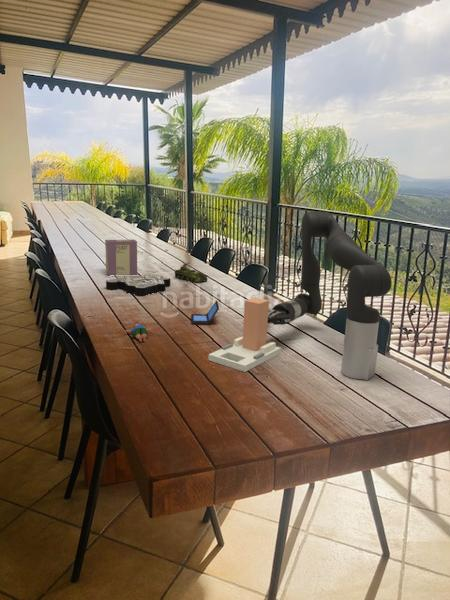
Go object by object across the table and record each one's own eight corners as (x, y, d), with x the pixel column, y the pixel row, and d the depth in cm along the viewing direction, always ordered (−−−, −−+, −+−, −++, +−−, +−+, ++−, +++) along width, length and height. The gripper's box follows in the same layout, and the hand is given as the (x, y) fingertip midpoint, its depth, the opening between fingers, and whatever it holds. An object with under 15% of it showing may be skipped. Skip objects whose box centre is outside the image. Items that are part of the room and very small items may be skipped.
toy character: (124, 332, 156) (119, 319, 170) (124, 345, 158) (119, 331, 171) (160, 329, 161) (152, 317, 174) (160, 342, 162) (152, 329, 175)
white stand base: (280, 353, 154) (281, 342, 153) (244, 372, 138) (245, 359, 137) (246, 343, 162) (246, 332, 161) (208, 360, 146) (208, 348, 145)
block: (266, 346, 154) (268, 300, 150) (256, 351, 150) (258, 303, 146) (252, 342, 157) (254, 297, 153) (242, 347, 153) (244, 300, 149)
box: (108, 276, 265) (107, 241, 260) (106, 273, 273) (105, 239, 268) (137, 275, 270) (136, 241, 266) (134, 272, 279) (134, 239, 274)
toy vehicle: (185, 276, 274) (185, 259, 272) (209, 282, 262) (209, 264, 259) (173, 278, 267) (173, 261, 265) (197, 284, 255) (197, 266, 252)
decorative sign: (101, 280, 234) (142, 272, 259) (102, 289, 235) (142, 280, 260) (143, 289, 220) (181, 279, 244) (143, 298, 221) (181, 287, 246)
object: (190, 316, 193) (191, 299, 192) (216, 317, 194) (217, 299, 192) (191, 325, 181) (191, 307, 179) (218, 326, 182) (219, 307, 180)
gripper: (271, 298, 170) (244, 307, 157) (303, 305, 162) (278, 315, 149) (270, 318, 172) (243, 328, 159) (302, 325, 164) (276, 337, 151)
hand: (260, 322), depth 154 cm, fingers closed
